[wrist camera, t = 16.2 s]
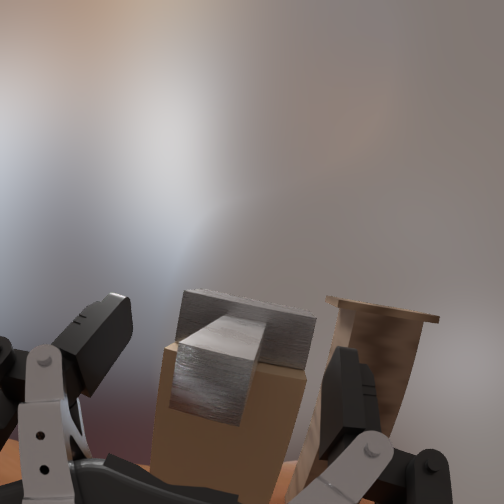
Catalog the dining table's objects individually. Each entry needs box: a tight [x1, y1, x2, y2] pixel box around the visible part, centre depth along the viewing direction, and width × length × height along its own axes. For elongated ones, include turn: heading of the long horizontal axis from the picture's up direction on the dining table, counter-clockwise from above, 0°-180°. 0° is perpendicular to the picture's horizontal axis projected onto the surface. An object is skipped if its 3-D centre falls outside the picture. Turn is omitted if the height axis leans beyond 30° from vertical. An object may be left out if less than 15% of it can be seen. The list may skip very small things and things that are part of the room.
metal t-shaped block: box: [169, 289, 317, 427], centre depth 20 cm, size 10×17×4 cm, turn 175°
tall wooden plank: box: [285, 296, 440, 504], centre depth 32 cm, size 12×8×32 cm
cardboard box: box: [150, 341, 307, 504], centre depth 25 cm, size 10×12×27 cm
